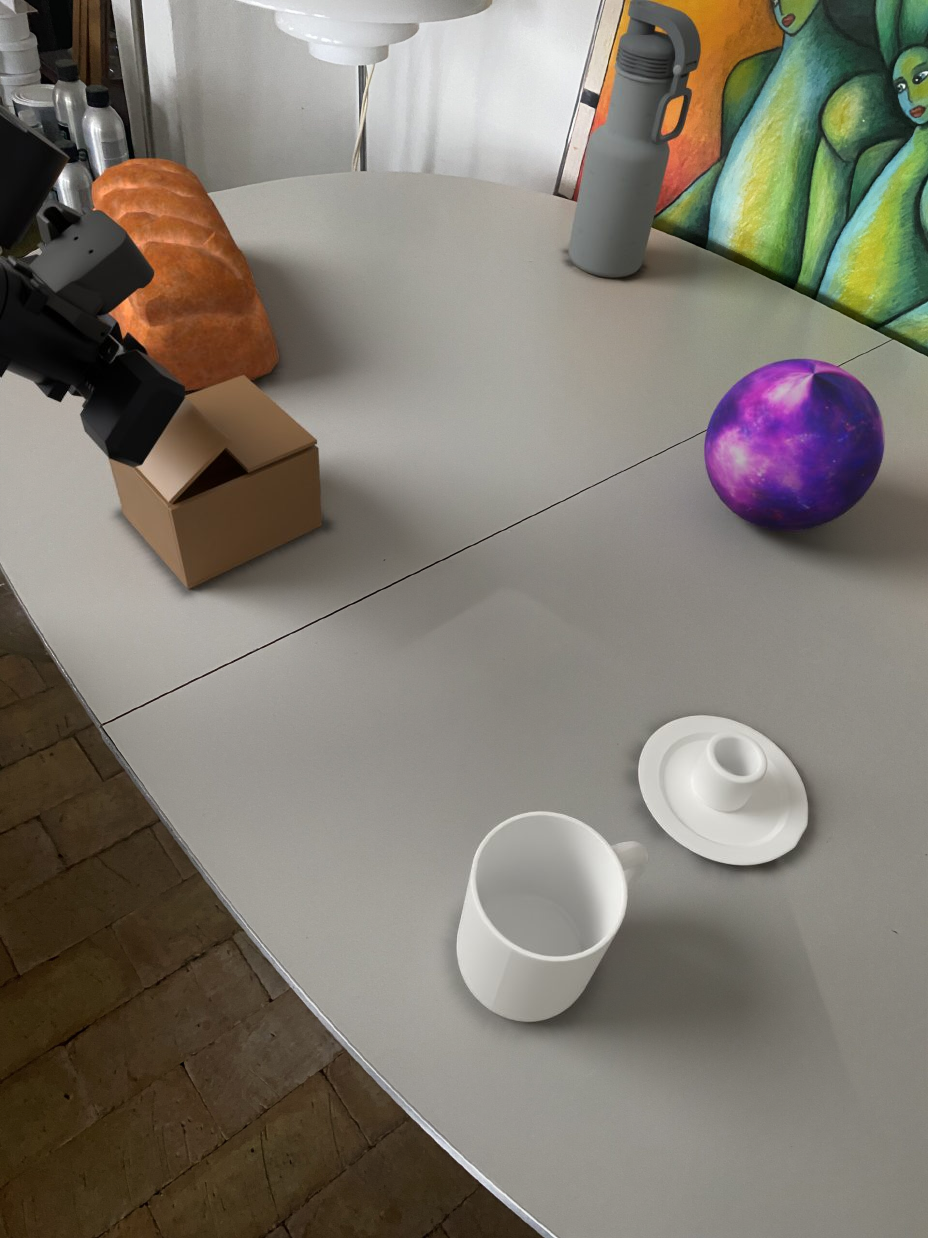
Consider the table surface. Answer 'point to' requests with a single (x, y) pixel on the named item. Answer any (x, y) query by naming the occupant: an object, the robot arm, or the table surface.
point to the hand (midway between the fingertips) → (176, 401)
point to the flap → (183, 451)
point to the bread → (186, 277)
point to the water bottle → (633, 141)
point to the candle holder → (723, 790)
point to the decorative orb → (794, 444)
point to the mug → (542, 912)
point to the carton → (231, 488)
